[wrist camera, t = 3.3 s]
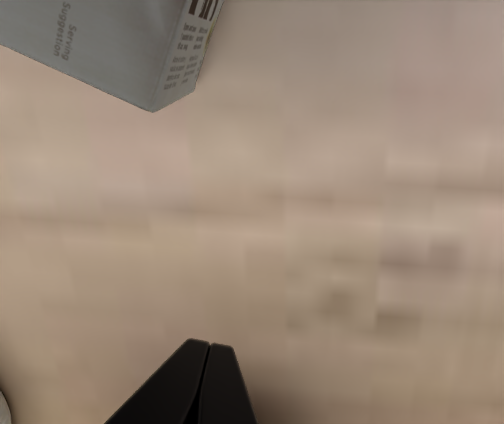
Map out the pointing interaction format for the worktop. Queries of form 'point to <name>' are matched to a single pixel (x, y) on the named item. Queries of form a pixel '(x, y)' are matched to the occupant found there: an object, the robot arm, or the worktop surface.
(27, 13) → the coffee box
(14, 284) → the worktop surface
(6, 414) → the ramekin
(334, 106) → the worktop surface
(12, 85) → the worktop surface
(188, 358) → the robot arm
